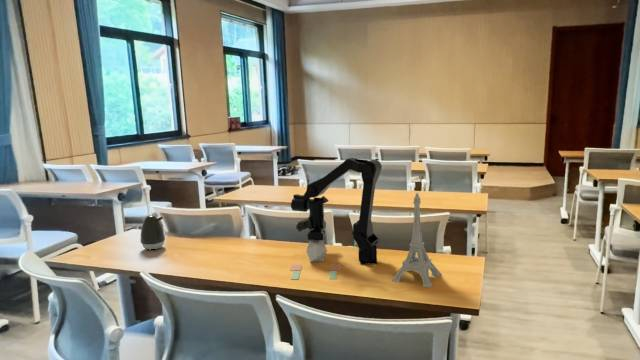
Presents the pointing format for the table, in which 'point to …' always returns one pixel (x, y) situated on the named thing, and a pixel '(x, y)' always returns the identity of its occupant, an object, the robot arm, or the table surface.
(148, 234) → the pump dispenser
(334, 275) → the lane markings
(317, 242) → the die
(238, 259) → the table surface
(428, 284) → the eiffel tower
